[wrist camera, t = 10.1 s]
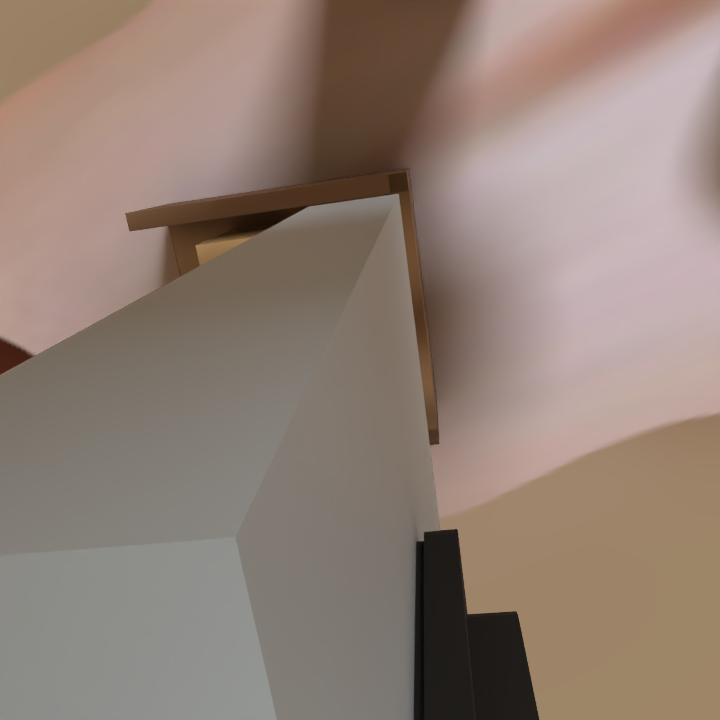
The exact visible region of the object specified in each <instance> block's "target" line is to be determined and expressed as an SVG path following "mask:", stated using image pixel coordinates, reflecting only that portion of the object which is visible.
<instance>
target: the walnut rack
mask: <svg viewBox="0 0 720 720" xmlns="http://www.w3.org/2000/svg"><path fill="white" fill-rule="evenodd" d="M393 194H399V199H400V207H401V216H402V224H403V232H404V240H405V248H406V256H407V264H408V272H409V280H410V289H411V297H412V305H413V313H414V321H415V329H416V337H417V345H418V353H419V361H420V370H421V378H422V386H423V394H424V402H425V410H426V418H427V426H428V434H429V442H430V445H434V444H439V430H438V413H437V399H436V391H435V382H434V374H433V365H432V357H431V349H430V340H429V332H428V324H427V315H426V307H425V298H424V290H423V282H422V273H421V265H420V256H419V248H418V240H417V231H416V223H415V215H414V206H413V198H412V189H411V181H410V173H409V168H407V169H400V170H393V171H387V172H380V173H373V174H367V175H360V176H353V177H346V178H340V179H333V180H326V181H320V182H313V183H306V184H299V185H293V186H286V187H279V188H272V189H266V190H259V191H252V192H246V193H239V194H232V195H225V196H219V197H212V198H205V199H199V200H192V201H185V202H178V203H172V204H167V205H162V206H158V207H153V208H148V209H144V210H139V211H135V212H130V213H126V218H127V222H128V227H129V231H135V230H142V229H149V228H156V227H163V226H169V228H170V232H171V236H172V241H173V245H174V250H175V254H176V259H177V263H178V267H179V272H180V276H183V275H184V274H186V273H188V272H190V271H192V270H194V269H195V268H197V267H199V266H200V264H199V259H198V255H197V250H196V246H195V245H197V244H200V243H202V242H204V241H207V240H209V239H211V238H214V237H216V236H218V235H221V234H223V233H225V232H228V231H230V230H237V229H244V228H251V227H258V226H265V225H272V224H278V223H280V222H281V221H283V220H285V219H287V218H289V217H291V216H292V215H294V214H296V213H298V212H300V211H302V210H303V209H305V208H307V207H309V206H316V205H323V204H330V203H337V202H344V201H351V200H358V199H365V198H372V197H379V196H386V195H393Z"/></svg>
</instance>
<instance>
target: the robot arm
mask: <svg viewBox="0 0 720 720" xmlns="http://www.w3.org/2000/svg"><path fill="white" fill-rule="evenodd" d="M414 720H539V716H538V711H537V706H536V702H535V697H534V692H533V687H532V682H531V677H530V672H529V667H528V662H527V657H526V652H525V647H524V642H523V638H522V633H521V628H520V623H519V618H518V614H517V612H499V613H484V614H467V606H466V598H465V589H464V581H463V573H462V564H461V555H460V547H459V538H458V530H457V529H454V530H441V531H428V532H424V541H417V542H416V591H415V657H414Z"/></svg>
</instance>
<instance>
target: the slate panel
mask: <svg viewBox="0 0 720 720" xmlns="http://www.w3.org/2000/svg"><path fill="white" fill-rule="evenodd" d="M428 531H440V523H439V515H438V507H437V499H436V491H435V483H434V475H433V467H432V459H431V451H430V442H429V434H428V426H427V418H426V410H425V402H424V394H423V386H422V378H421V370H420V361H419V353H418V345H417V337H416V329H415V321H414V313H413V305H412V297H411V289H410V280H409V272H408V264H407V256H406V248H405V240H404V232H403V224H402V216H401V207H400V199H399V194H393V195H386V196H379V197H372V198H365V199H358V200H351V201H344V202H337V203H330V204H323V205H316V206H309V207H307V208H305V209H303V210H302V211H300V212H298V213H296V214H294V215H292V216H291V217H289V218H287V219H285V220H283V221H281V222H280V223H278V224H276V225H274V226H272V227H270V228H269V229H267V230H265V231H263V232H261V233H259V234H258V235H256V236H254V237H252V238H250V239H249V240H247V241H245V242H243V243H241V244H239V245H238V246H236V247H234V248H232V249H230V250H228V251H227V252H225V253H223V254H221V255H219V256H217V257H216V258H214V259H212V260H210V261H208V262H206V263H205V264H203V265H201V266H199V267H197V268H195V269H194V270H192V271H190V272H188V273H186V274H184V275H183V276H181V277H179V278H177V279H175V280H173V281H172V282H170V283H168V284H166V285H164V286H162V287H161V288H159V289H157V290H155V291H153V292H151V293H150V294H148V295H146V296H144V297H142V298H140V299H139V300H137V301H135V302H133V303H131V304H129V305H128V306H126V307H124V308H122V309H120V310H118V311H117V312H115V313H113V314H111V315H109V316H107V317H106V318H104V319H102V320H100V321H98V322H96V323H95V324H93V325H91V326H89V327H87V328H85V329H84V330H82V331H80V332H78V333H76V334H74V335H73V336H71V337H69V338H67V339H65V340H63V341H62V342H60V343H58V344H56V345H54V346H52V347H51V348H49V349H47V350H45V351H43V352H41V353H40V354H38V355H36V356H34V357H32V358H30V359H29V360H27V361H25V362H23V363H21V364H19V365H18V366H16V367H14V368H12V369H10V370H8V371H7V372H5V373H3V374H1V375H0V720H414V657H415V591H416V542H417V541H424V532H428Z"/></svg>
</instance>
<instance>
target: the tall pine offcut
mask: <svg viewBox="0 0 720 720" xmlns="http://www.w3.org/2000/svg"><path fill="white" fill-rule="evenodd" d="M274 225H276V224H272V225H265V226H258V227H251V228H244V229H237V230H230V231H228V232H225V233H223V234H221V235H218V236H216V237H214V238H211V239H209V240H207V241H204V242H202V243H200V244H197V245H195V246H196V250H197V255H198V259H199V264H200V266H201V265H203V264H205V263H206V262H208V261H210V260H212V259H214V258H216V257H217V256H219V255H221V254H223V253H225V252H227V251H228V250H230V249H232V248H234V247H236V246H238V245H239V244H241V243H243V242H245V241H247V240H249V239H250V238H252V237H254V236H256V235H258V234H259V233H261V232H263V231H265V230H267V229H269V228H270V227H272V226H274Z"/></svg>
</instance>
